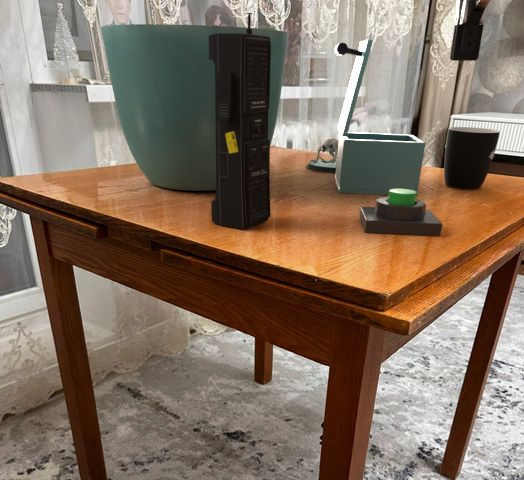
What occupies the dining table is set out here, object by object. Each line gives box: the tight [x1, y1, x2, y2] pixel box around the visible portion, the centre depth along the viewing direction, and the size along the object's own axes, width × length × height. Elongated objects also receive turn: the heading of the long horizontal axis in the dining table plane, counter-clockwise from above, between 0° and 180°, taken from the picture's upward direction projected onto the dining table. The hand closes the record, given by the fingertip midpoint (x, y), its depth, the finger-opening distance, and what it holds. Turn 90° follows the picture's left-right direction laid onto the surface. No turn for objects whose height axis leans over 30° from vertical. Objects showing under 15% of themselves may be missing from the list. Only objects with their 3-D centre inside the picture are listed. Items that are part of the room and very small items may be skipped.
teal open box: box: [334, 131, 426, 197], centre depth 98 cm, size 14×12×9 cm
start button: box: [388, 189, 417, 205], centre depth 74 cm, size 4×4×2 cm
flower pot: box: [100, 23, 290, 192], centre depth 93 cm, size 30×30×24 cm
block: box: [358, 196, 443, 237], centre depth 75 cm, size 10×8×4 cm
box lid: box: [334, 38, 374, 137], centre depth 92 cm, size 14×12×5 cm
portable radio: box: [209, 12, 272, 231], centre depth 69 cm, size 8×6×25 cm
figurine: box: [305, 138, 339, 174], centre depth 115 cm, size 11×12×6 cm
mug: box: [443, 126, 500, 190], centre depth 103 cm, size 12×9×10 cm
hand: (463, 60), depth 70 cm, fingers closed
